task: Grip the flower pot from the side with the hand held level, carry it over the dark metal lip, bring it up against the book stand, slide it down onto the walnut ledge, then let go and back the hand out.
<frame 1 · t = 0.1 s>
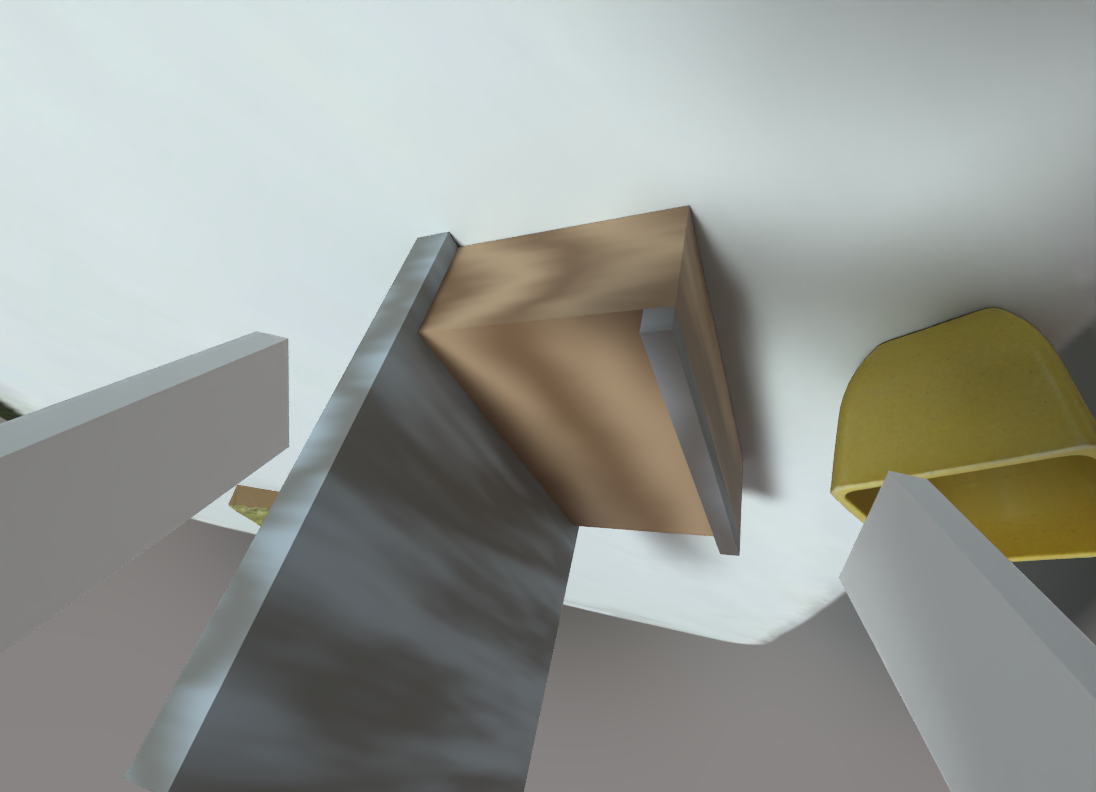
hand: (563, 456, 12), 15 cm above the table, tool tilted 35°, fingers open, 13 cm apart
flower pot: (949, 348, 27), on the table
book stand: (605, 371, 35), on the table
miniature landscape model: (348, 523, 81), on the table
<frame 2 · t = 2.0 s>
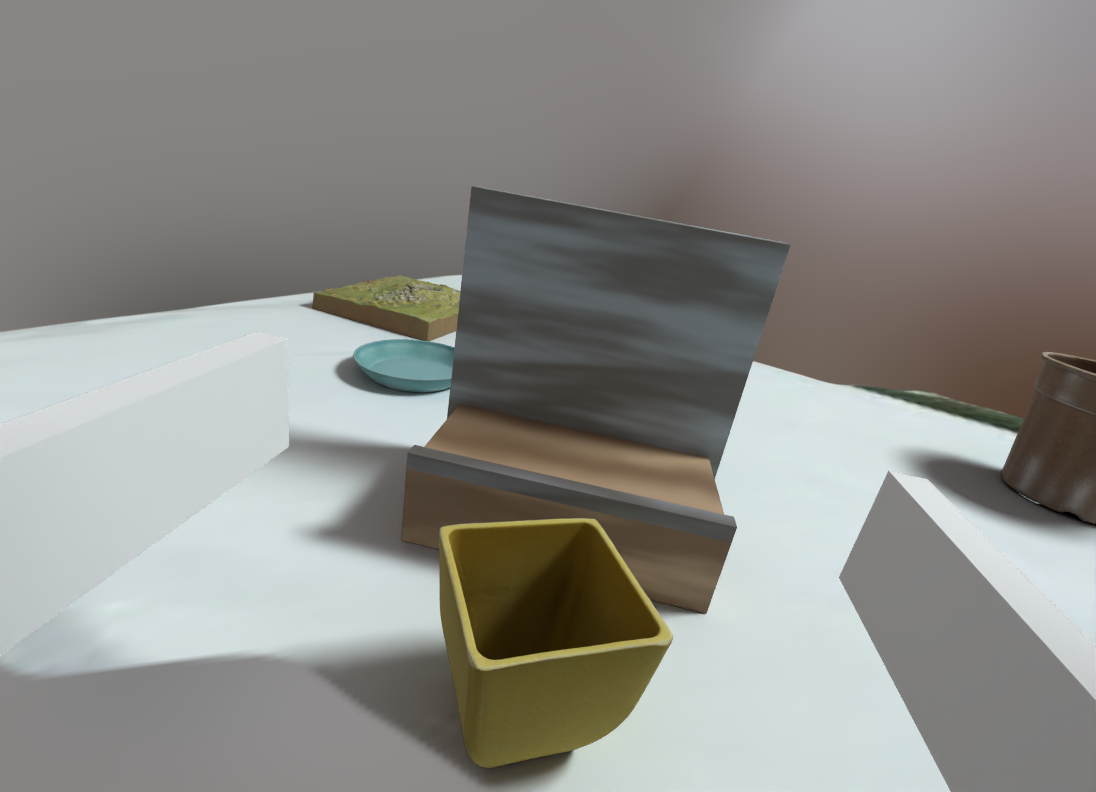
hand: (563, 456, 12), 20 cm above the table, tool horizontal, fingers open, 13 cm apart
flower pot: (518, 715, 28), on the table
book stand: (562, 518, 45), on the table
plant pot: (1059, 500, 66), on the table
miniature landscape model: (411, 316, 95), on the table
saucer: (414, 378, 69), on the table
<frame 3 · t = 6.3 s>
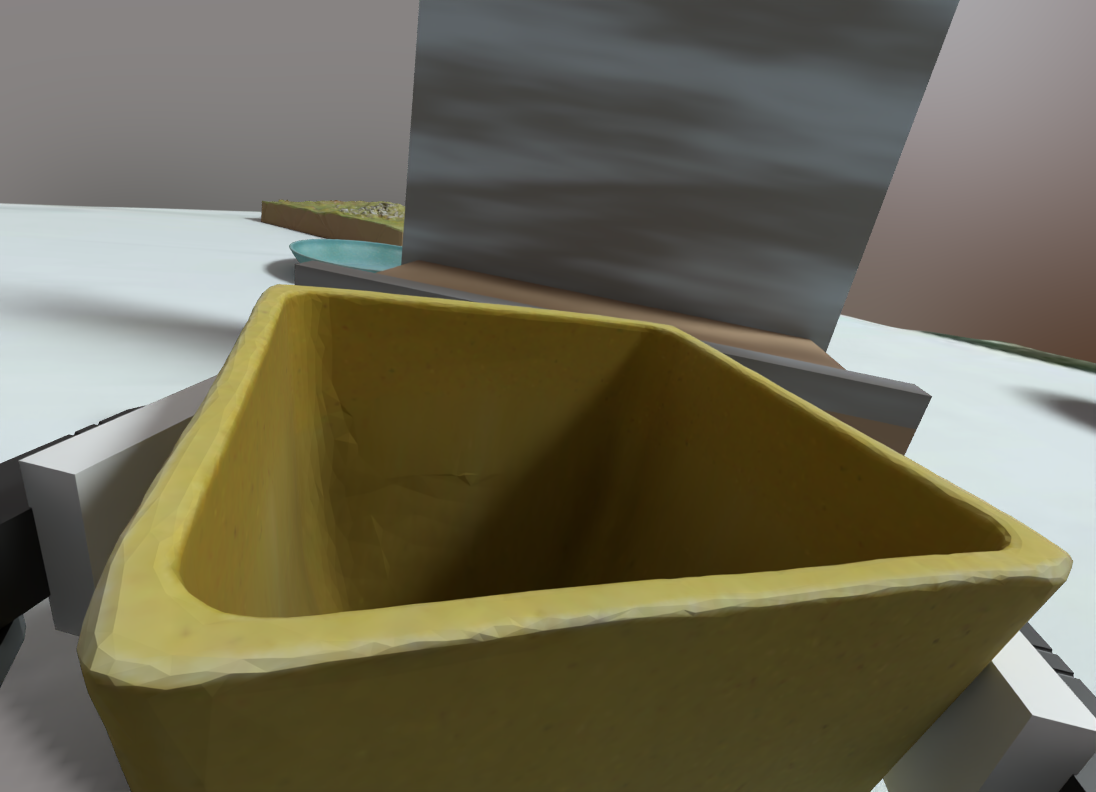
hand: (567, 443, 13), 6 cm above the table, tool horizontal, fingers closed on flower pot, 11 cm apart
flower pot: (487, 791, 11), on the table, touching gripper
book stand: (578, 430, 28), on the table
miniature landscape model: (386, 240, 78), on the table
saucer: (375, 283, 52), on the table
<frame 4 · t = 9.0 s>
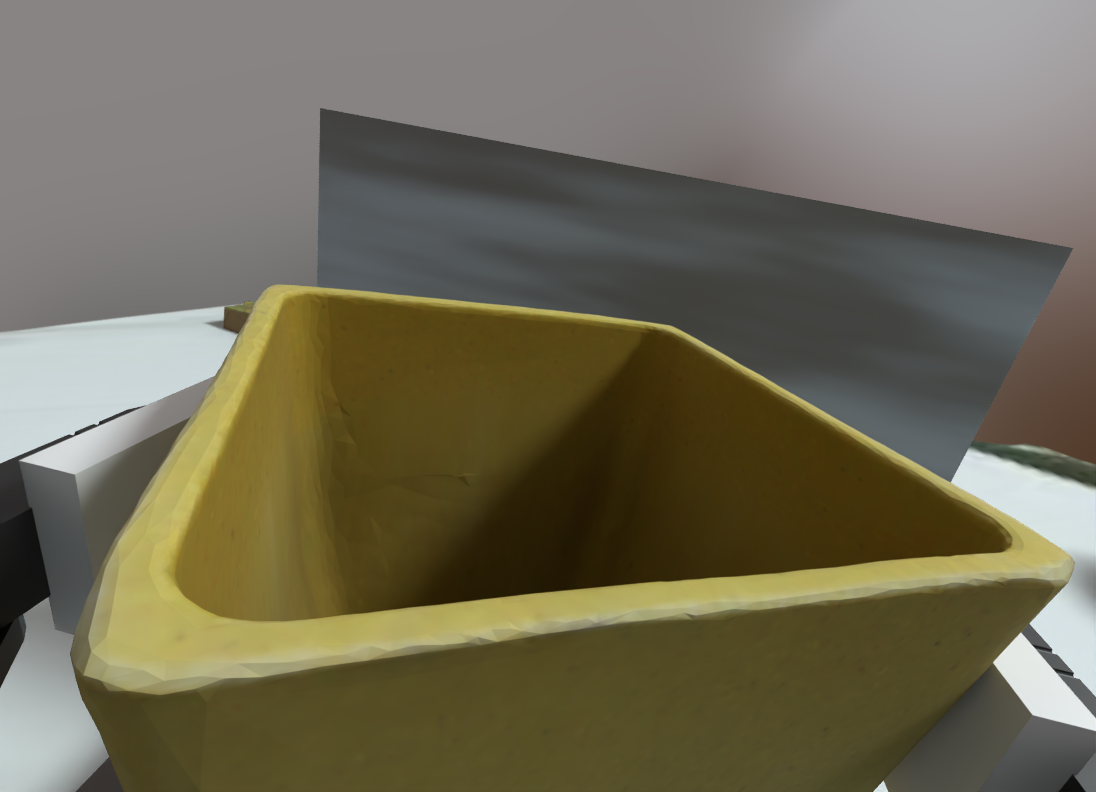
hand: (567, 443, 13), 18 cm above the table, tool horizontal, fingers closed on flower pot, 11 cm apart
miniature landscape model: (362, 338, 72), on the table
when the fingers open (13 cm above the table, at t = 11.9 s): flower pot drops 1 cm, resting on book stand.
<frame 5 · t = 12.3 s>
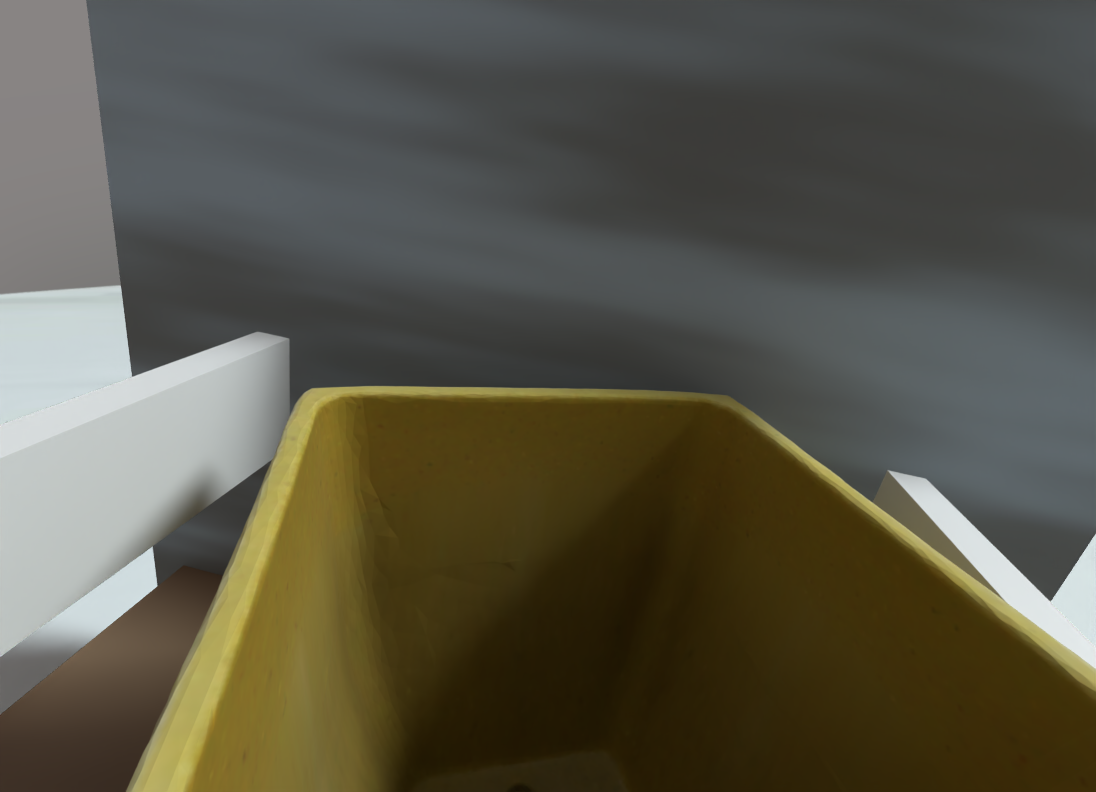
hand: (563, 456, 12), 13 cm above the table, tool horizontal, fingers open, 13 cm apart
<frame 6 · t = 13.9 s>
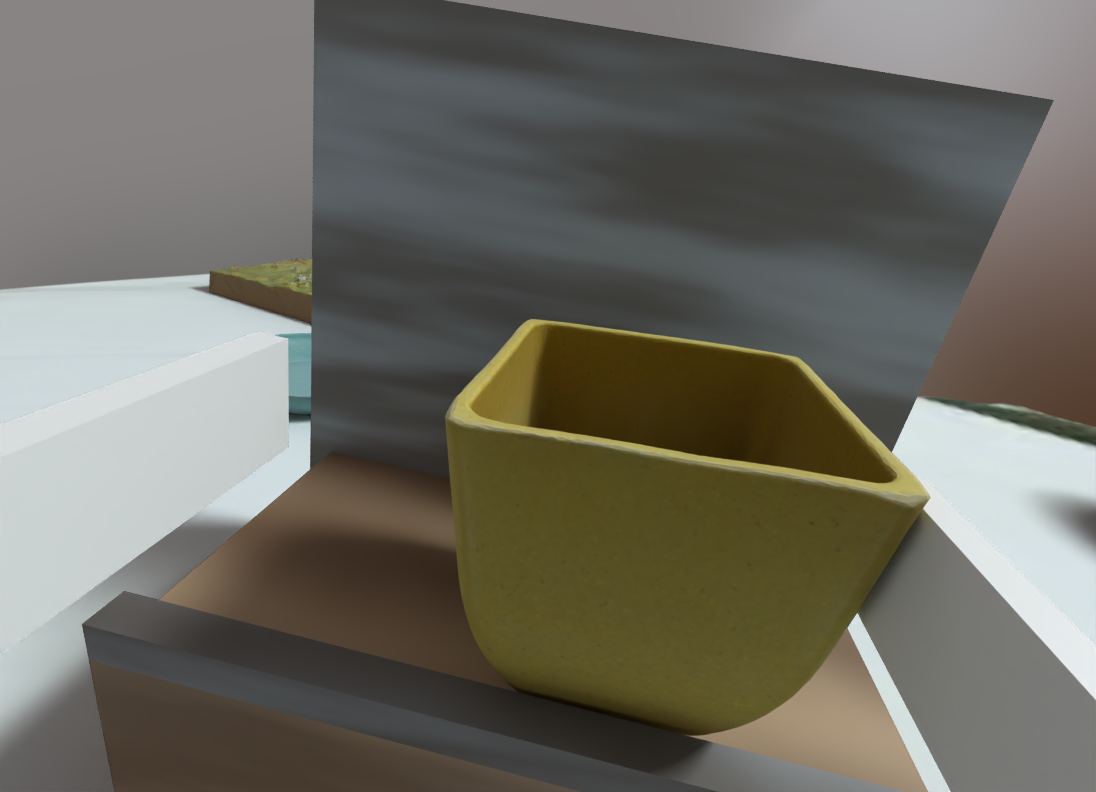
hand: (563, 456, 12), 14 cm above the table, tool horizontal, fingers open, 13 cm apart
flower pot: (615, 654, 17), point 6 cm above the table, touching book stand, gripper
book stand: (524, 693, 22), on the table
miniature landscape model: (350, 305, 72), on the table
saucer: (318, 391, 46), on the table
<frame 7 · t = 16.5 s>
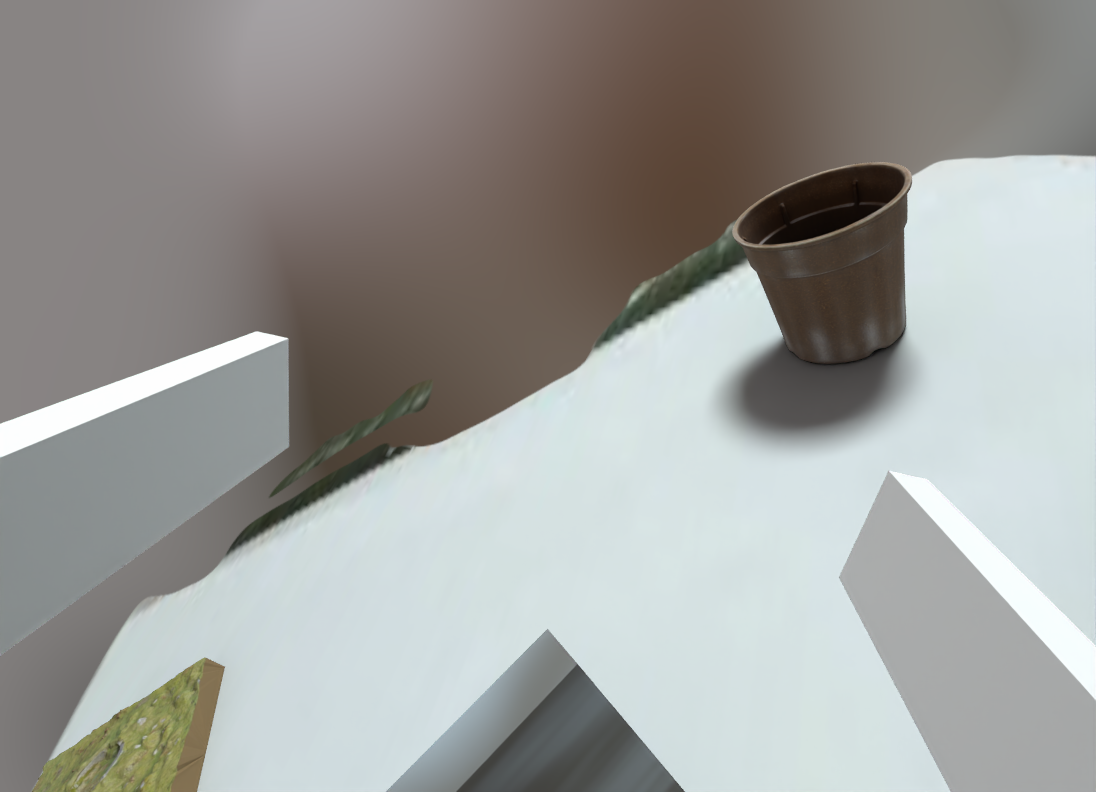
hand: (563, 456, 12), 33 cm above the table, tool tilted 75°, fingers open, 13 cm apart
plant pot: (843, 333, 62), on the table
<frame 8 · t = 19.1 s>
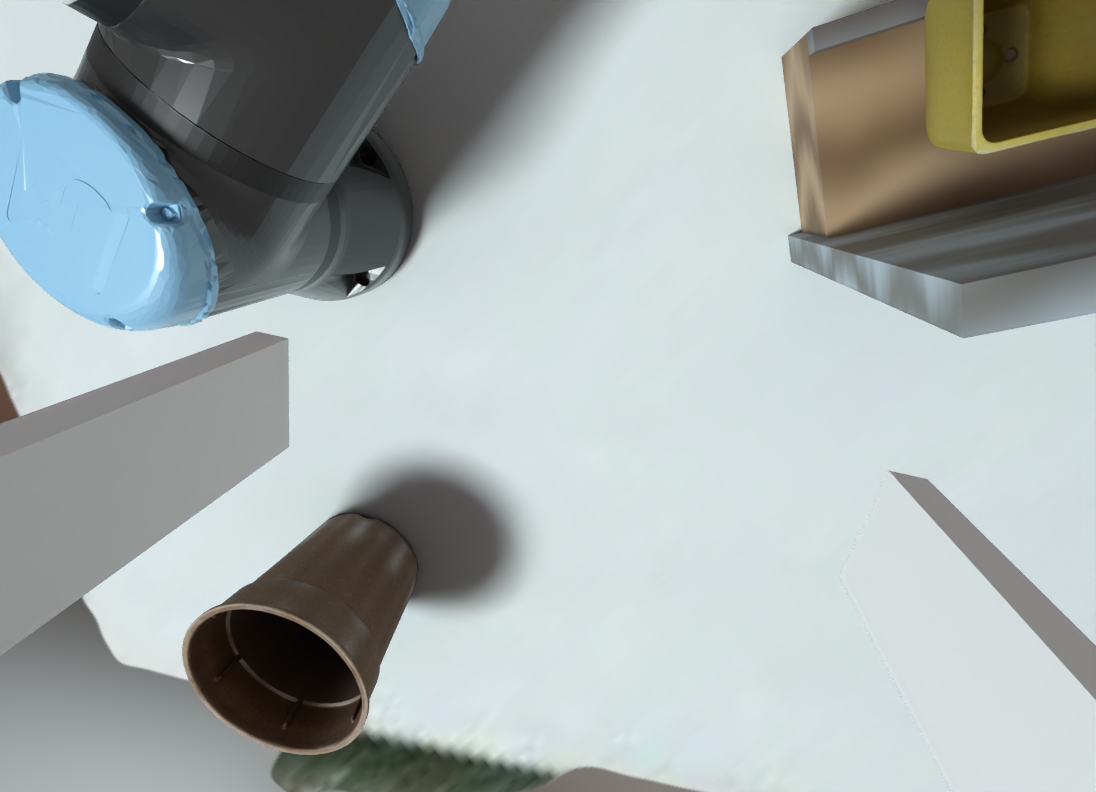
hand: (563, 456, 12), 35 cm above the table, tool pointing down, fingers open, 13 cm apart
flower pot: (970, 67, 32), point 6 cm above the table, touching book stand
book stand: (964, 119, 37), on the table
plant pot: (365, 560, 59), on the table
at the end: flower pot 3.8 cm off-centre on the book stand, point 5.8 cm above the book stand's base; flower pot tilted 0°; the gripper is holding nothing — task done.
